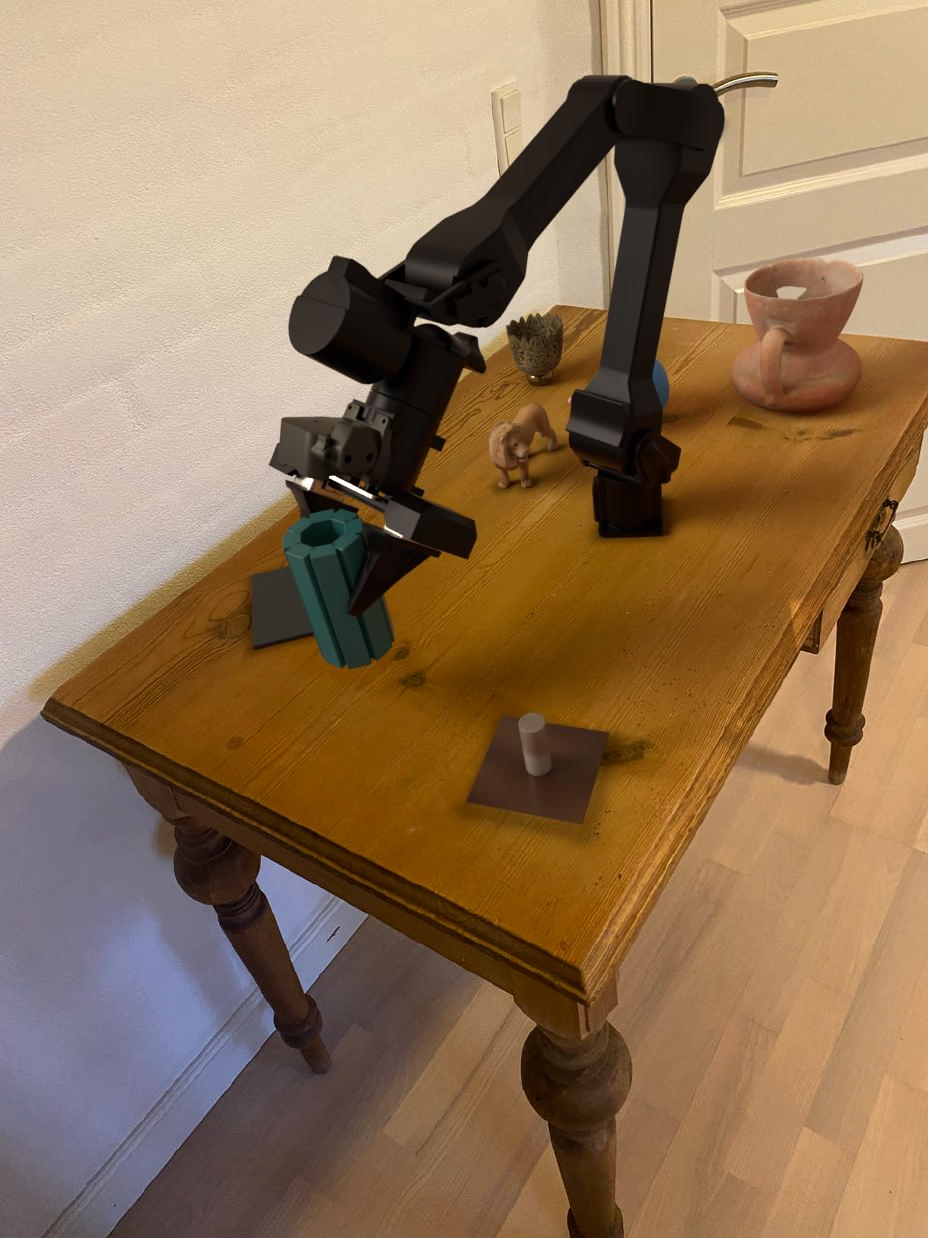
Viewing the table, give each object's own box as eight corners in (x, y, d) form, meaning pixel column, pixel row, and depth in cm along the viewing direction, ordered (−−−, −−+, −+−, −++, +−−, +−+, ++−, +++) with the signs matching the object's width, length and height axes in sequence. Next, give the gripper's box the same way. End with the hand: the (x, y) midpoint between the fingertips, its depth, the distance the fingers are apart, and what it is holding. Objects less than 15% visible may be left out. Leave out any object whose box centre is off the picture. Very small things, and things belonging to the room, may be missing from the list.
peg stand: (503, 723, 74) (493, 672, 70) (610, 740, 70) (606, 687, 67) (467, 810, 68) (453, 759, 64) (582, 833, 64) (576, 780, 60)
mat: (362, 551, 96) (361, 548, 96) (374, 619, 87) (373, 616, 87) (253, 577, 95) (252, 575, 95) (253, 649, 86) (252, 646, 86)
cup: (570, 389, 116) (564, 331, 111) (514, 397, 117) (506, 339, 112) (566, 365, 122) (560, 308, 117) (512, 372, 123) (505, 316, 118)
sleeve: (409, 631, 72) (379, 520, 65) (360, 678, 69) (323, 566, 62) (355, 610, 75) (321, 502, 68) (307, 653, 72) (265, 544, 65)
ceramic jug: (764, 356, 115) (771, 244, 106) (880, 373, 107) (898, 253, 98) (699, 421, 105) (701, 304, 96) (822, 445, 97) (836, 319, 88)
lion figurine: (533, 507, 97) (524, 434, 91) (487, 505, 99) (475, 433, 93) (563, 438, 107) (556, 368, 102) (520, 437, 109) (511, 369, 103)
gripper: (251, 339, 66) (177, 534, 68) (413, 398, 54) (317, 632, 56) (359, 392, 74) (290, 564, 76) (519, 453, 62) (432, 654, 65)
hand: (326, 598), depth 68 cm, fingers closed on sleeve, 6 cm apart
